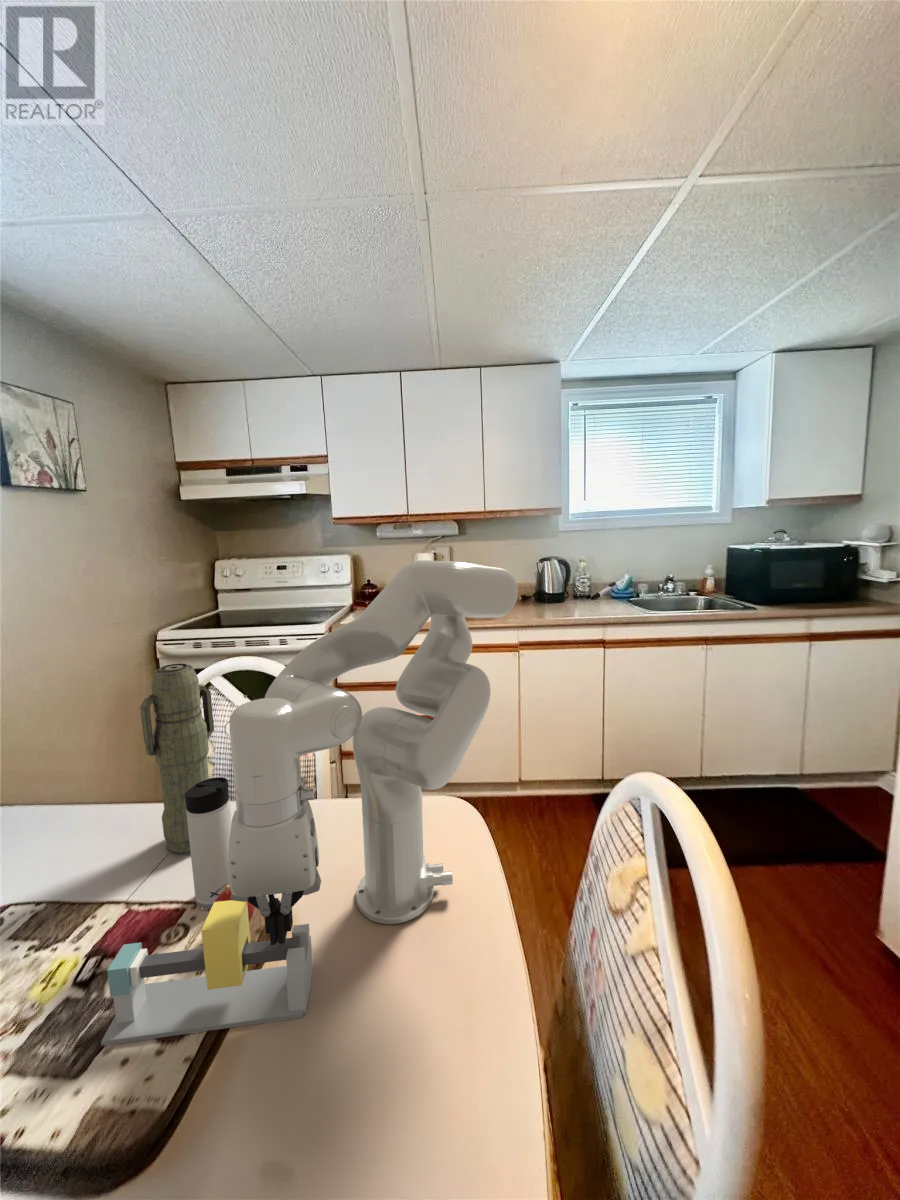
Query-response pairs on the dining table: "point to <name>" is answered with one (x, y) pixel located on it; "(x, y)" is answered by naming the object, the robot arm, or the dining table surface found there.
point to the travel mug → (209, 838)
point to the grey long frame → (189, 1000)
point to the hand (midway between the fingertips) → (280, 935)
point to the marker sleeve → (225, 943)
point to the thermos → (178, 744)
